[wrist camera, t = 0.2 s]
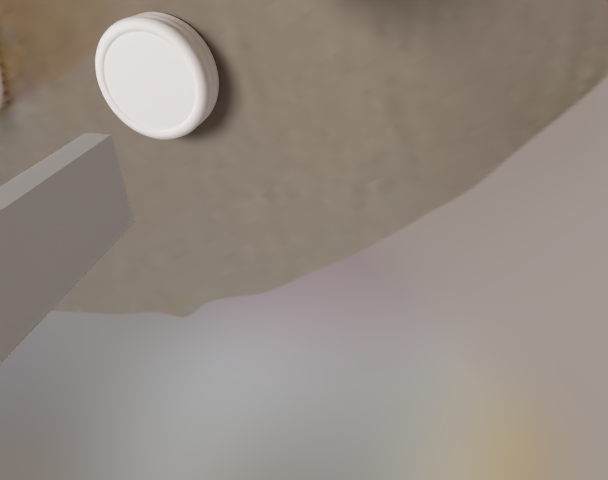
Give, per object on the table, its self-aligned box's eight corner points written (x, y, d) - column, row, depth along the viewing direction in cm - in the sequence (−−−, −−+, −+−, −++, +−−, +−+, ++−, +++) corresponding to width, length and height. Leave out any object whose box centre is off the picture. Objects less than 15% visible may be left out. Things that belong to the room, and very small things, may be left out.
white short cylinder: (96, 22, 39) (71, 30, 36) (200, -1, 36) (181, 5, 34) (141, 133, 44) (122, 147, 42) (234, 120, 42) (221, 134, 39)
